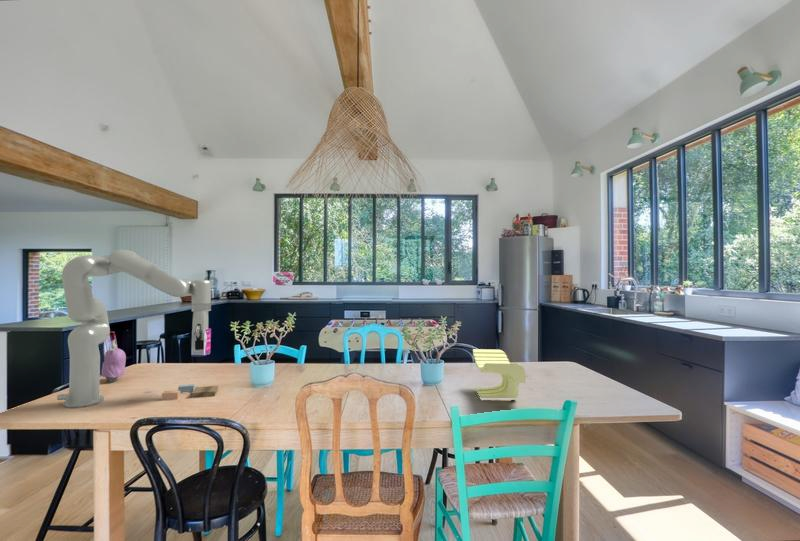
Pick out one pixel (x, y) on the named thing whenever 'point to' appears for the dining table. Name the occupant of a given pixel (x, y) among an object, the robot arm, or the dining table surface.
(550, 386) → the dining table surface
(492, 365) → the slatted curved stool
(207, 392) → the tan flat square block
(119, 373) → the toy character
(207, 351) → the supplement box
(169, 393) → the terracotta brick
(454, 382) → the dining table surface
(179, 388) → the slate brick
